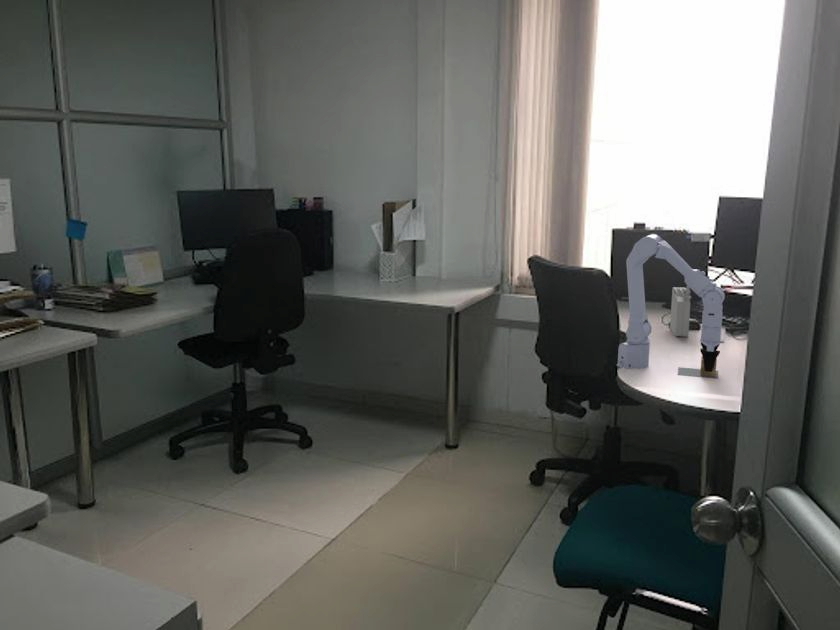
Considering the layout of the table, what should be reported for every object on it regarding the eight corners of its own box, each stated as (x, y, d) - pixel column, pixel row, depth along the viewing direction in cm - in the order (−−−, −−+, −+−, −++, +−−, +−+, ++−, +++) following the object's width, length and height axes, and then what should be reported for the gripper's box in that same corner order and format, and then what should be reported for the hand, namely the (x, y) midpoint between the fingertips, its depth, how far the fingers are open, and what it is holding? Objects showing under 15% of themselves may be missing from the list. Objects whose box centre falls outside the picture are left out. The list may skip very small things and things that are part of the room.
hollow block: (700, 374, 225) (701, 359, 224) (700, 371, 229) (701, 356, 228) (715, 376, 223) (716, 360, 222) (715, 372, 227) (716, 357, 226)
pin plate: (677, 378, 225) (677, 375, 225) (678, 370, 233) (678, 367, 233) (718, 381, 221) (718, 378, 221) (717, 373, 229) (718, 370, 229)
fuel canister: (690, 338, 272) (694, 274, 267) (676, 338, 273) (680, 274, 268) (682, 329, 287) (686, 268, 282) (669, 329, 288) (673, 267, 282)
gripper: (726, 332, 214) (722, 375, 217) (725, 321, 228) (721, 362, 231) (700, 330, 217) (697, 373, 220) (701, 320, 230) (698, 360, 233)
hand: (708, 367), depth 225 cm, fingers open, 7 cm apart
